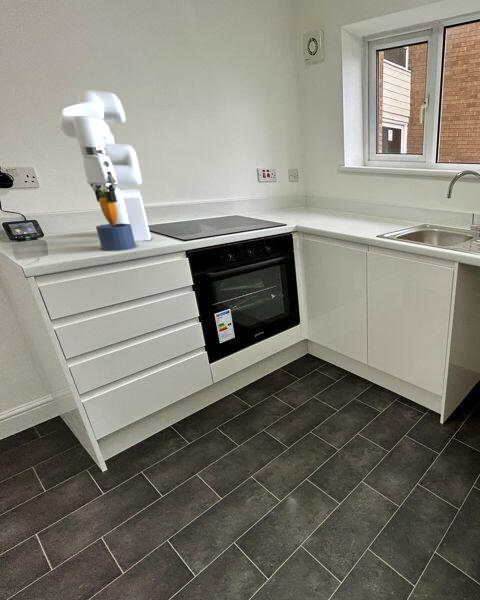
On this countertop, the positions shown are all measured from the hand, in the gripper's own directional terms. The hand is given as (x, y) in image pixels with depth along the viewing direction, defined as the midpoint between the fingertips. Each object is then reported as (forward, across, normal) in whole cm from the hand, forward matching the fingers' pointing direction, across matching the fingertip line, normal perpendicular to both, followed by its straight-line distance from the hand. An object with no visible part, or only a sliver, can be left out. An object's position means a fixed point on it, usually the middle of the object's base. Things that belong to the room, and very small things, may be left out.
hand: (107, 201), depth 139 cm
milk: (+19, +6, -15) cm, 25 cm away
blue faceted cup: (+19, 0, 0) cm, 19 cm away
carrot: (+10, 0, 0) cm, 10 cm away
